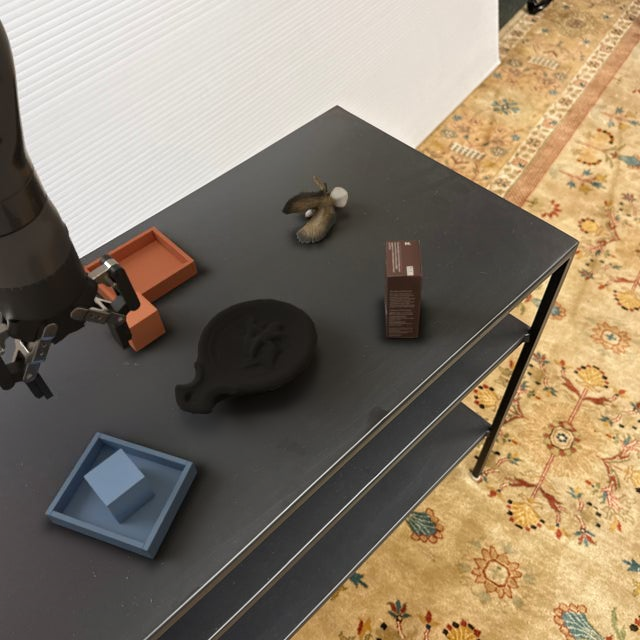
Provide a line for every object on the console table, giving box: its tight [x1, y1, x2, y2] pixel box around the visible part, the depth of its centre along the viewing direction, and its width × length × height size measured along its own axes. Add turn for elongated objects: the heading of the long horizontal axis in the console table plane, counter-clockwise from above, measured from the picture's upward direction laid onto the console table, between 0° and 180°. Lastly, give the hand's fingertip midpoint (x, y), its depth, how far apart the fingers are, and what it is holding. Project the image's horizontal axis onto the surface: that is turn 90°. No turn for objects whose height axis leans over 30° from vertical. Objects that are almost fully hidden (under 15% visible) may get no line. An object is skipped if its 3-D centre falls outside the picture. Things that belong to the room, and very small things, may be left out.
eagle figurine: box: [281, 175, 349, 244], centre depth 95 cm, size 8×7×9 cm
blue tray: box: [44, 431, 198, 560], centre depth 70 cm, size 12×10×2 cm
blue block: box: [84, 449, 155, 524], centre depth 69 cm, size 5×5×5 cm
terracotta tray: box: [83, 226, 199, 304], centre depth 91 cm, size 12×10×2 cm
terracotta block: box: [126, 291, 166, 353], centre depth 84 cm, size 5×5×5 cm
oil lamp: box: [174, 298, 319, 415], centre depth 79 cm, size 15×20×5 cm
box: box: [384, 239, 423, 339], centre depth 80 cm, size 6×4×12 cm
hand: (85, 367), depth 64 cm, fingers open, 8 cm apart
